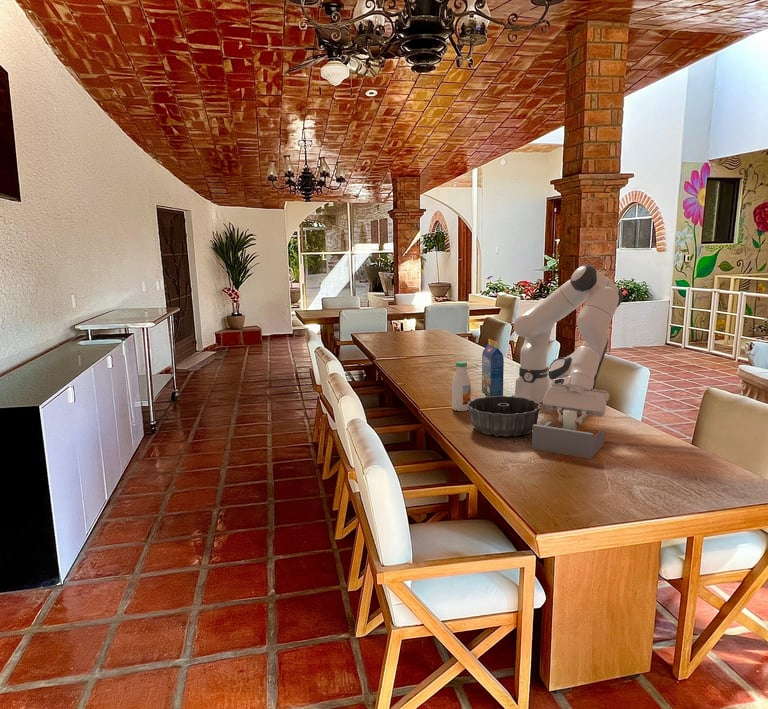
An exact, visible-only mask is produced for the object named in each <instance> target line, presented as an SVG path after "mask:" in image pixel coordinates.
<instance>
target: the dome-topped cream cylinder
mask: <svg viewBox="0 0 768 709" xmlns="http://www.w3.org/2000/svg"><path fill="white" fill-rule="evenodd" d="M562 415H563V422H562V429H568V430H575V431H577V425H578V424H576V418H578V413H577V410H574V409H564V410H563V413H562Z"/></svg>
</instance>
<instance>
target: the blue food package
mask: <svg viewBox="0 0 768 709" xmlns="http://www.w3.org/2000/svg"><path fill="white" fill-rule="evenodd" d="M498 345H499V344H498V341H495V340H494V339H491V338H488V344H487V345H486V346H485V348H483V350H482V355H481V357H482V358H481V391H482V392H483V394H485V395H486V394H487V395H486V396H487V397H492V396H504V368H505V367H504V366H505V365H504V362H505V361H504V360H505V359H504V355H503V352H502V351H500V349H499V348H498V347H499V346H498Z"/></svg>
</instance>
